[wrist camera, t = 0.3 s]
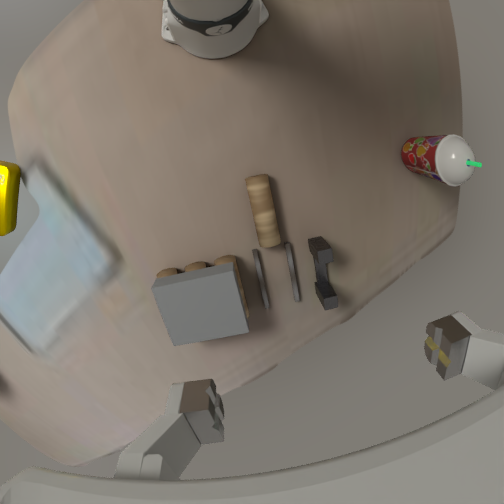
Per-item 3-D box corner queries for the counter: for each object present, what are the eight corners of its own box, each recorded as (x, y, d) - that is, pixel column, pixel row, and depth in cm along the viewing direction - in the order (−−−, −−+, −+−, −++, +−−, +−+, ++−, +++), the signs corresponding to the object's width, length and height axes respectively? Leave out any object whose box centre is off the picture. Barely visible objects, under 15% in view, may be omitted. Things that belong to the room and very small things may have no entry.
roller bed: (159, 270, 58) (154, 278, 54) (288, 241, 58) (292, 248, 54) (177, 323, 62) (175, 333, 58) (298, 298, 62) (302, 307, 58)
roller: (244, 177, 54) (245, 180, 50) (266, 173, 54) (268, 175, 50) (259, 242, 58) (260, 249, 54) (279, 238, 57) (282, 244, 54)
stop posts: (307, 239, 58) (317, 251, 51) (320, 236, 58) (331, 248, 51) (316, 293, 61) (325, 310, 55) (328, 290, 61) (338, 307, 55)
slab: (156, 278, 54) (151, 288, 50) (232, 261, 54) (232, 270, 50) (176, 333, 58) (173, 345, 54) (247, 320, 58) (249, 332, 54)
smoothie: (413, 184, 55) (479, 205, 36) (387, 154, 53) (451, 164, 34) (435, 154, 53) (504, 166, 34) (411, 124, 51) (478, 124, 32)
